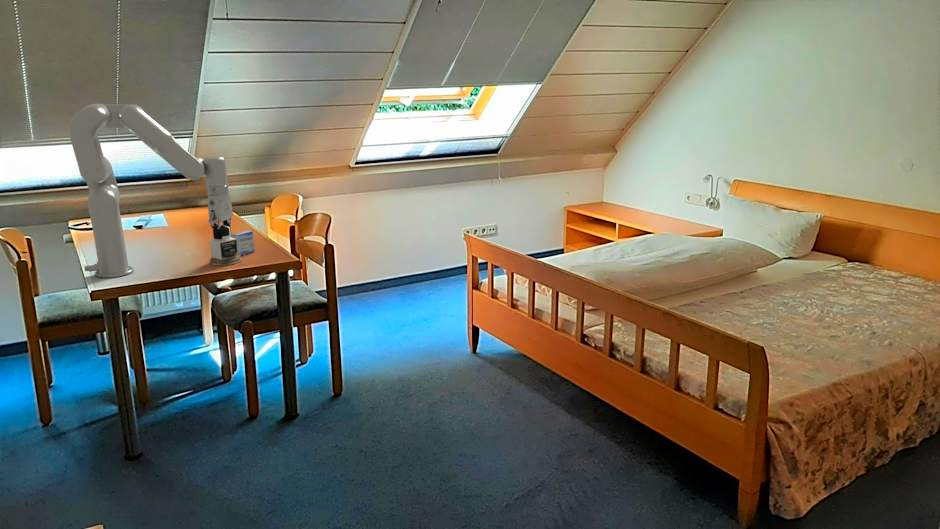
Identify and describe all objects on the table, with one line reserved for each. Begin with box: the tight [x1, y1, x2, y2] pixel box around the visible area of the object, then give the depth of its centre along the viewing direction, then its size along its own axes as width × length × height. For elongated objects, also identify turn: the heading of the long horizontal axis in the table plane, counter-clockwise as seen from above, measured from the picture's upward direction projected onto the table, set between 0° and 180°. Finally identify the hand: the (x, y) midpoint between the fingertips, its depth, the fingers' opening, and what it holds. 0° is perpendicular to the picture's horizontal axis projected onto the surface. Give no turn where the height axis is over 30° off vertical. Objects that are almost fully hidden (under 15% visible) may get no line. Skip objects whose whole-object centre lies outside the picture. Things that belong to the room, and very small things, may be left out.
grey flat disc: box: [209, 255, 243, 267], centre depth 267 cm, size 12×12×2 cm
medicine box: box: [231, 230, 256, 257], centre depth 278 cm, size 8×4×9 cm, turn 151°
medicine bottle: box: [208, 225, 238, 260], centre depth 265 cm, size 7×7×12 cm
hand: (222, 236), depth 265 cm, fingers closed on medicine bottle, 6 cm apart
